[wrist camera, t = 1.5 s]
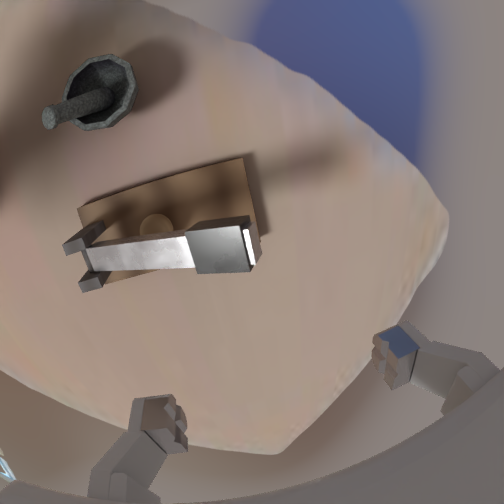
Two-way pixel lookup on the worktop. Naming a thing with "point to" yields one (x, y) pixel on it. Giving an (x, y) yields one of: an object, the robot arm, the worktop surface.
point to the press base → (161, 211)
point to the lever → (184, 248)
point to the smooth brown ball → (155, 224)
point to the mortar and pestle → (95, 95)
